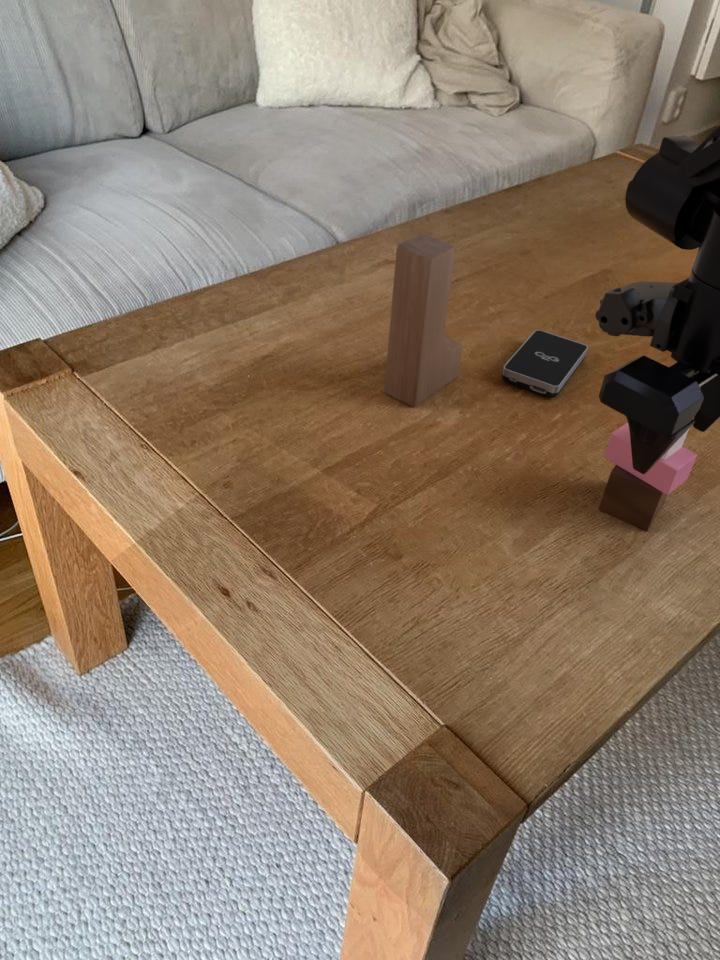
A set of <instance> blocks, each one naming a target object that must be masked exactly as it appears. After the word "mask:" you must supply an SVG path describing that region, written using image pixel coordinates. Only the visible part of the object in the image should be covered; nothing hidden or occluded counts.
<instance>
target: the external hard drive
mask: <svg viewBox="0 0 720 960" xmlns="http://www.w3.org/2000/svg"><path fill="white" fill-rule="evenodd" d="M588 350H589V346H588V345H587V344H584V343H581V342H579V341H575V340H573V339H569V338H567V337H563V336H560V335H558V334H554V333H551V332H548V331H544V330H541V329H535V330H534V331H533V332H532V333H531V334H530V335H529V337H528V338H527V339H526V340H525V341H524V342H523V343H522V344H521V345H520V347H519V348H518V349H517V350H516V351H515V352H514V353H513V355H512V356H511V357H510V358H509V359H508V360H507V362H506V363H505V364H504V365H503V368H502V374H501V378H502V380H503V381H504V382H505V383H509V384H512V385H515V386H517V387H520V388H523V389H526V390H529V391H531V392H534V393H537V394H540V395H543V396H545V397H547V398H551V399H552V398H553V399H554V398H557V396H558V395H559V394H560V392H561V391H562V390H563V388H564V387H565V386H566V384H567V383H568V382H569V380H570V379H571V378H572V377H573V376H574V374H575V372H576V371H577V369H578V368H580V366H581V364H582V363H583V362H584V360H585V359H586V357H587V354H588Z"/></svg>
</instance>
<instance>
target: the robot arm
mask: <svg viewBox="0 0 720 960" xmlns="http://www.w3.org/2000/svg"><path fill="white" fill-rule="evenodd" d="M624 197H625V198H624V200H625V201H624V203H625V208H626V210H627V213H628V215H629V216H630V217H631V218H632V219H633V220H635V221H637V222H638V223H640V224H641V225H643V226H644V227H646V228H647V229H649V230H651V231H652V232H654V233H655V234H657V235H659V236H660V237H661V238H663V239H664V240H666V241H667V242H669V243H671V244H673V246H675V247H677V248H679V249H681V250H686V251H692V250H696V249H698V250H697V253H696V256H695V259H694V261H693V265H692V268H691V271H690V273H689V277H687V278H686V279H684V280H682V281H680V282H672V281H671V282H670V281H669V282H668V281H667V282H666V281H635V282H631V283H628V284H626V285H624V286H622V287H618V286H617V287H615V288H613V289H611V290H608V291H606V292H605V293H604V295H603V297H602V299H600V300H599V304H600V305H599V308H598V310H597V311H596V312H595V318H596V321H598V326H599V328H600V329H601V330H602V331H603V332H604V333H607V334H608V335H609V336H611V337H621V335H623V336H624V335H625V336H636V337H647V338H648V337H651V340H650V343H649V346H650V347H652V348H654V349H656V350H658V351H660V352H661V353H664V352H666V351H668V352H670V358H672V360H674V361H675V363H674V364H672V365H669V366H667V365H666V364H664V363H661V362H659V361H657V360H655V359H653V358H651V357H650V356H649V357H648V356H646V355H640V356H639V357H636V358H634V359H633V358H632V359H631V360H628V361H627V362H625V363H624V364H622V365H620V366H618V367H617V368H615V369H613V370H611V371H610V372H608V373H606V374H604V376H603V380H602V383H601V385H600V386H601V387H600V390H599V394H598V399H599V402H600V403H601V404H603V405H605V406H607V407H609V408H611V409H612V410H614V411H616V412H618V413H619V414H622V415H623V416H625V418H626V420H627V422H628V425H629V431H630V441H631V452H632V464H633V468H634V469H635V470H636V471H638V472H640V473H641V474H645V473H647V472H648V471H649V470H650V469H651V468H652V467H653V466H654V465H655V464H656V463H657V462H658V461H659V460H660V458H661V457H662V456H663V455H664V454H665V453H666V452H667V451H668V450H669V449H670V448H671V447H672V446H673V445H674V444H675V443H676V442H677V440H678V439H679V438H680V437H681V436H682V435H683V434H684V433H685V432H686V431H687V430H688V429H689V430H690V428H691V427H693V428H694V429H695V430H698V431H699V432H702V433H705V432H706V431H707V430H709V428H710V427H712V426H713V425H714V424H715V423H716V422H717V421H718V420H720V125H719V126H718V127H717V128H716V129H715V130H713V132H711V133H710V134H709V135H708V136H707V137H706V138H705V140H703V141H702V142H701V143H700V144H699V143H698V142H697V141H696V140H695V139H693V138H691V137H689V136H687V135H686V134H685V135H684V134H683V135H673V136H672V135H671V136H664V137H662V139H661V142H660V146H659V150H658V152H657V153H655V154H653V155H652V156H651V157H649V158H648V159H647V160H645V162H644V163H642V165H640V166H639V168H638V170H637V171H636V172H635V174H634V175H633V177H632V179H631V180H630V181H629V182H628V184H627V187H626V191H625V196H624ZM689 430H688V431H689Z"/></svg>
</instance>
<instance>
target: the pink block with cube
mask: <svg viewBox="0 0 720 960" xmlns="http://www.w3.org/2000/svg"><path fill="white" fill-rule="evenodd" d="M689 430H690V428H689V429H688V430H687V431H686V432H685V433H684V434H683V435H682V436H681V437H680V438H679V439H678V440H677V442H676V443H675V444H674V445H673V446H672V447H671V448H670V449H669V450H668V451H667V452H666V453H665V454H664V455H663V456H662V457H661V458H660V460H659V461H658V462H657V463H656V464H655V465H654V466H653V467H652V468H651V469H650V470H649V471H648V472H647V473H645V474H641V473H640V472H638V471H636V470H635V469H634V468H633V464H632V452H631V441H630V431H629V425H628V421H627V422H626V423H624V424H623V425H621V426H620V427H618V428H617V429H615V430H613V431H612V432H611V434H610V437H609V440H608V443H607V446H606V449H605V453H604V456H603V458H604V459H606V460H608V461H609V462H611V463H612V464H614V465H618V466H619V467H621V468H623V469H624V470H626V471H628V472H629V473H631V474H633V475H634V476H636V477H638V478H639V479H641V480H643V481H644V482H646V483H648V484H649V485H651V486H653V487H654V488H656V489H658V490H659V491H661V492H663V493H664V494H666V495H668V496H669V494H670V493H672V492H673V491H674V490H675V489H676V488H677V489H678V487H679V486H681V485H682V484H683V483H684V482H686V481H688V479H689V476H690V474H691V471H692V469H693V466H694V464H695V463H696V459H697V458H698V454H697V453H695V452H694V451H691V450H690V449H688V448H686V447H684V446H683V445H684V443H685V441H686V438H687V435H688V432H689Z"/></svg>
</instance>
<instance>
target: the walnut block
mask: <svg viewBox="0 0 720 960" xmlns="http://www.w3.org/2000/svg"><path fill="white" fill-rule="evenodd" d="M668 496H669V494H668V495H666V494H664V493H663V492H661V491H659V490H658V489H656V488H654V487H653V486H651V485H649V484H648V483H646V482H644V481H643V480H641V479H639V478H638V477H636V476H634V475H633V474H631V473H629V472H628V471H626V470H624V469H623V468H621V467H619V466H618V465H616V464H614V467H613V468H612V469H611V471H610V473H609V476H608V480H607V482H606V486H605V488H604V491H603V495H602V497H601V500H600V504H599V505H598V511H601V512H602V513H604V514H607V515H609V516H612V517H613V518H616V519H618V520H621V521H623V522H625V523H627V524H629V525H632V526H634V527H636V528H639V529H640V530H643V531H645V532H648V531H649V529H650V528H651V526H652V525H653V523H654V522H655V520H656V518H657V516H658V515H659V513H660V512H661V510H662V508H663V507H664V505H665V503H666V500H667V498H668Z"/></svg>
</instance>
